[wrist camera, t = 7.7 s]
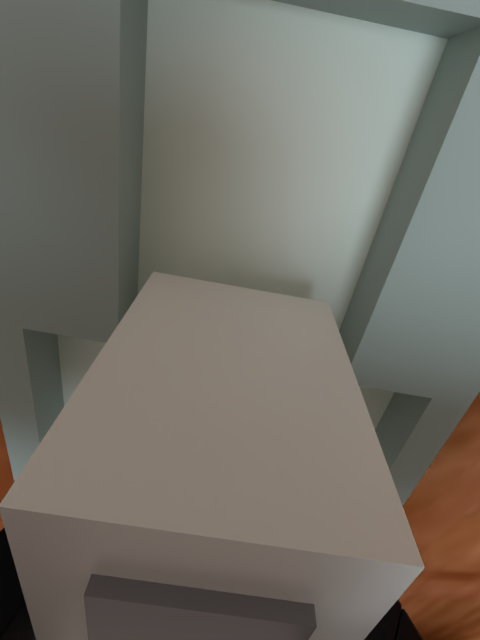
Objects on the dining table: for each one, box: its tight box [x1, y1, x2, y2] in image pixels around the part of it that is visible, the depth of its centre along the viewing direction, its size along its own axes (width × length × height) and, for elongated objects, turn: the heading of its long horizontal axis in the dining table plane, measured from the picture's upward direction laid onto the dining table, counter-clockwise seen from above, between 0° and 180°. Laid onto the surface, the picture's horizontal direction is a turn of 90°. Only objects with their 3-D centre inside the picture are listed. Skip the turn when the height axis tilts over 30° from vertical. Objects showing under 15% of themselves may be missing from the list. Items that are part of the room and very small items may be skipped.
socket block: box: [0, 272, 425, 640], centre depth 8 cm, size 4×8×6 cm, turn 171°
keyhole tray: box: [0, 0, 480, 506], centre depth 10 cm, size 12×19×2 cm, turn 170°
